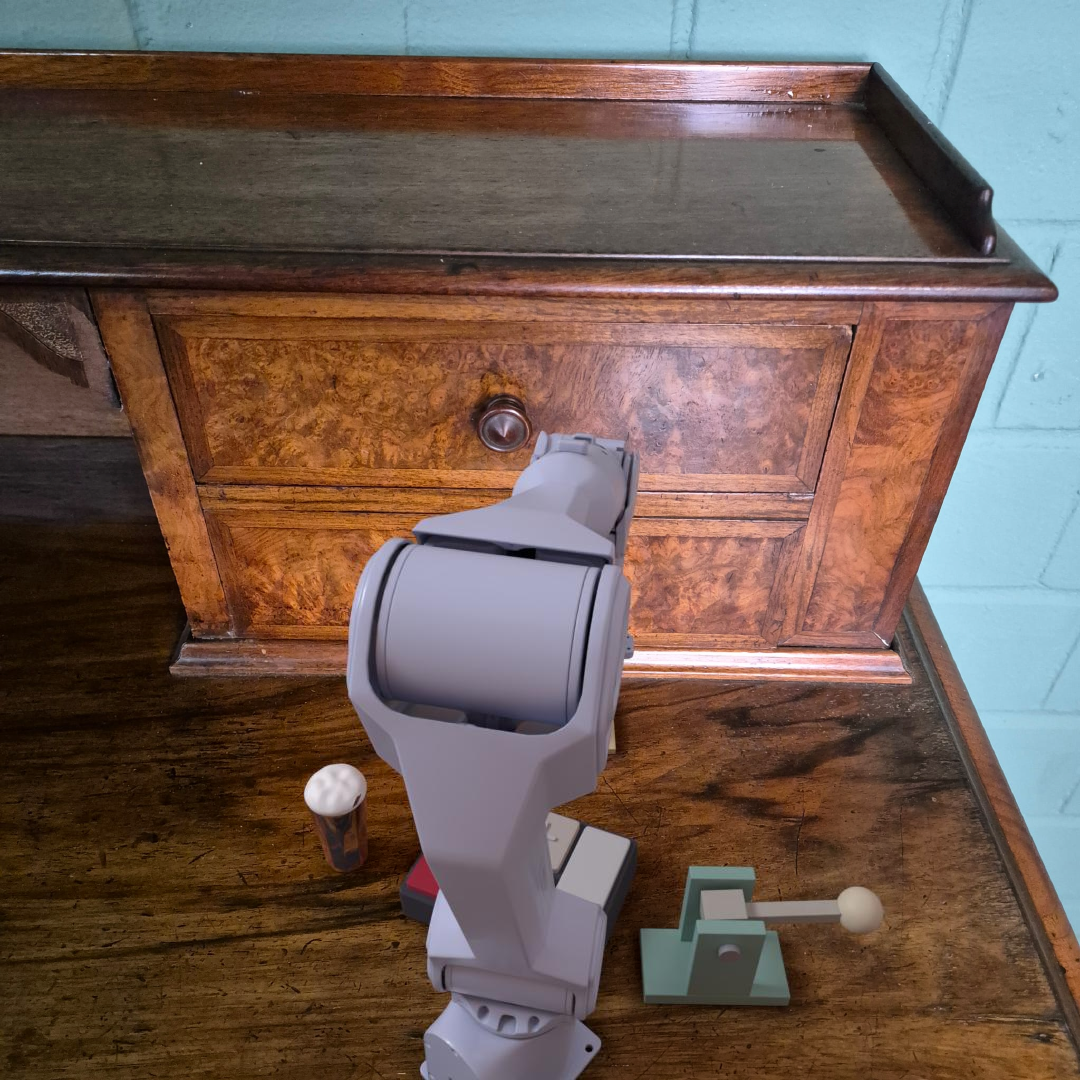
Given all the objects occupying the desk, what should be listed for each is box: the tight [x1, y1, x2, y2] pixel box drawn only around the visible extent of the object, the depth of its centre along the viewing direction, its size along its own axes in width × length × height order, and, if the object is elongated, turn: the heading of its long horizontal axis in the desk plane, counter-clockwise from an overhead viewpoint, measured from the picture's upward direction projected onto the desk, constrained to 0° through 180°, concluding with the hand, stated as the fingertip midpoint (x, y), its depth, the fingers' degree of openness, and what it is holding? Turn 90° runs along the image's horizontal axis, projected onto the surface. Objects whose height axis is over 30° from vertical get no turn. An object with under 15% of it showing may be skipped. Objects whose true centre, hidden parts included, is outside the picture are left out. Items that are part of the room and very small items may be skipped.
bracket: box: [638, 865, 791, 1007], centre depth 65 cm, size 10×6×9 cm, turn 89°
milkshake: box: [303, 763, 369, 874], centre depth 72 cm, size 4×5×10 cm
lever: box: [700, 886, 884, 936], centre depth 63 cm, size 12×3×3 cm, turn 89°
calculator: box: [398, 811, 638, 953], centre depth 72 cm, size 11×4×15 cm
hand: (573, 730), depth 73 cm, fingers closed
